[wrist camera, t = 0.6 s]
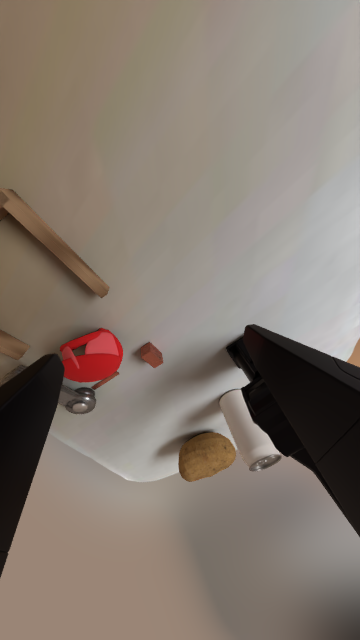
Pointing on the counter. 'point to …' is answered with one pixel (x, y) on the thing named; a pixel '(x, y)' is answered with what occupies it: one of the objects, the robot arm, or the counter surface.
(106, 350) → the cap
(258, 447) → the can
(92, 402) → the crank
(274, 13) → the counter surface
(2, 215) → the bay
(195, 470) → the potato
